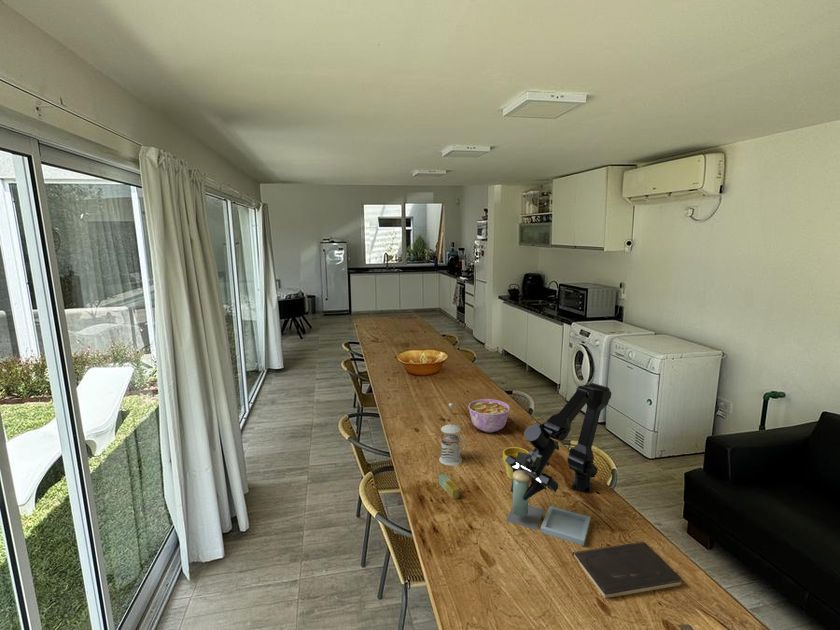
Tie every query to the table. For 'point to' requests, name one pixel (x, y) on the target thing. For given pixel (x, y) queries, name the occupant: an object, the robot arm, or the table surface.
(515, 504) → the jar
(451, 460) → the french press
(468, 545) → the table surface
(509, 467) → the plant pot
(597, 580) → the hardcover book
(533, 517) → the mat
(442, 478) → the medication box
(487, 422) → the bowl of food
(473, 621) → the table surface
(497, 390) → the table surface
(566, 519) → the dish
